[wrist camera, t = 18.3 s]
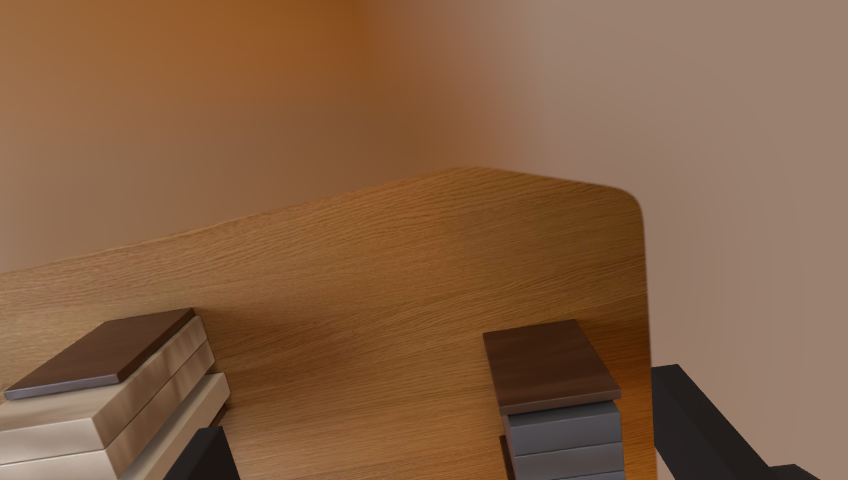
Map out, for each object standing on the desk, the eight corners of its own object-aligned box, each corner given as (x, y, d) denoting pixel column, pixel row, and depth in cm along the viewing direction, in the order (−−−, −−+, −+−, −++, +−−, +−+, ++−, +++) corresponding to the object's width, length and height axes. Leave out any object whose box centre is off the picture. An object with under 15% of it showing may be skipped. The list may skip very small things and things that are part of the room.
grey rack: (482, 333, 48) (501, 415, 36) (574, 318, 47) (626, 397, 35) (500, 442, 51) (522, 552, 39) (586, 430, 51) (636, 538, 38)
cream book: (121, 388, 50) (-16, 515, 35) (224, 371, 50) (131, 495, 34) (129, 408, 51) (-1, 543, 35) (231, 393, 50) (143, 523, 35)
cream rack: (100, 322, 48) (-55, 427, 33) (197, 306, 48) (86, 405, 32) (140, 424, 51) (16, 563, 36) (231, 410, 51) (145, 545, 35)
